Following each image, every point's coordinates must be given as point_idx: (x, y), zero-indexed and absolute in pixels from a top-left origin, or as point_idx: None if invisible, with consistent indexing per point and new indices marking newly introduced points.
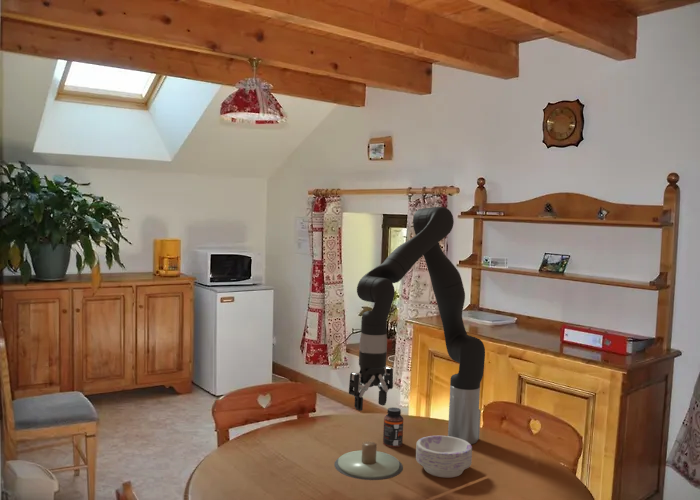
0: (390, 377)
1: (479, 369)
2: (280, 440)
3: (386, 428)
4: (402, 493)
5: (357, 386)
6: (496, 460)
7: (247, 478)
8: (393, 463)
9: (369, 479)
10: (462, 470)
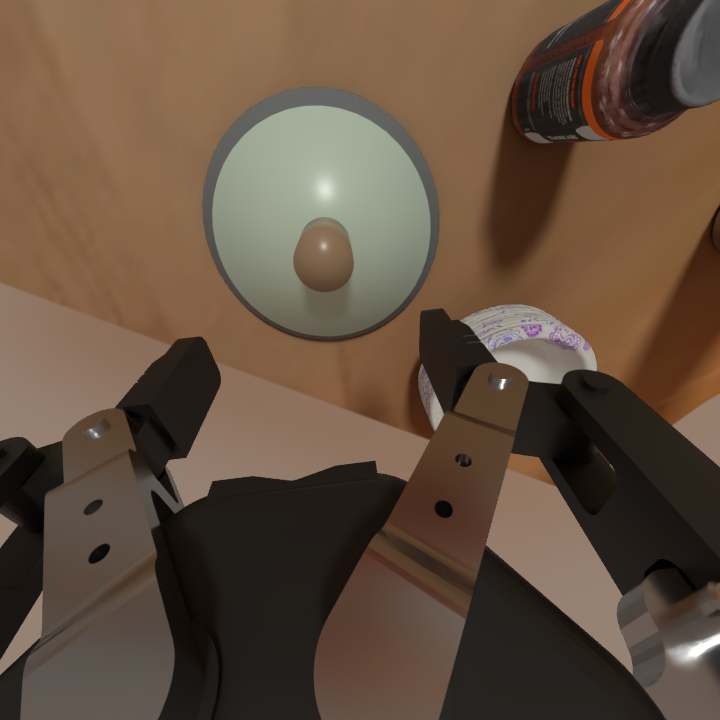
0: (628, 579)
1: None
2: None
3: (564, 78)
4: (317, 394)
5: (12, 613)
6: (630, 362)
7: None
8: (387, 294)
9: (275, 325)
10: None
